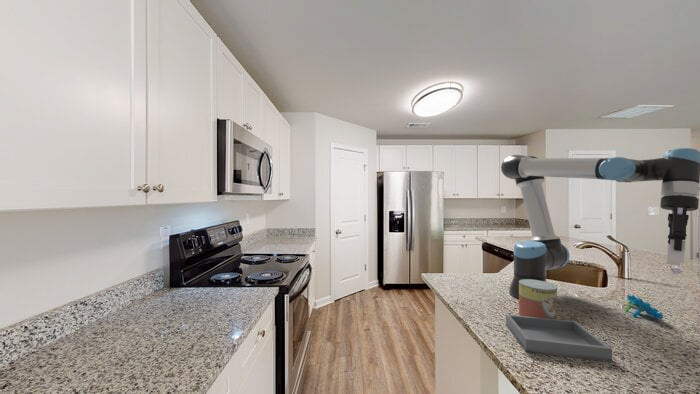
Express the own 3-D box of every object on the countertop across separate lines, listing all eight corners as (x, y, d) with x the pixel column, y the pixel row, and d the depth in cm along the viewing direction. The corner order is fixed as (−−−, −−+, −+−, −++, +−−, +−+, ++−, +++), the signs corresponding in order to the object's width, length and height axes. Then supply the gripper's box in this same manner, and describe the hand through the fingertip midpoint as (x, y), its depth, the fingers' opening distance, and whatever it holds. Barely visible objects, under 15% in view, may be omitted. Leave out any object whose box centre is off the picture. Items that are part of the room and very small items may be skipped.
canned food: (540, 326, 87) (540, 290, 88) (511, 312, 98) (511, 280, 98) (565, 322, 90) (565, 287, 91) (534, 309, 101) (534, 278, 101)
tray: (505, 324, 89) (505, 314, 89) (575, 331, 84) (575, 321, 84) (525, 351, 73) (525, 339, 73) (612, 362, 68) (612, 348, 68)
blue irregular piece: (673, 320, 89) (644, 296, 91) (659, 332, 89) (631, 308, 92) (645, 311, 99) (621, 290, 102) (633, 321, 100) (609, 300, 102)
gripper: (704, 187, 73) (700, 264, 70) (693, 205, 89) (690, 268, 86) (662, 186, 78) (657, 257, 76) (659, 204, 94) (655, 263, 92)
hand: (674, 263), depth 81 cm, fingers open, 13 cm apart
